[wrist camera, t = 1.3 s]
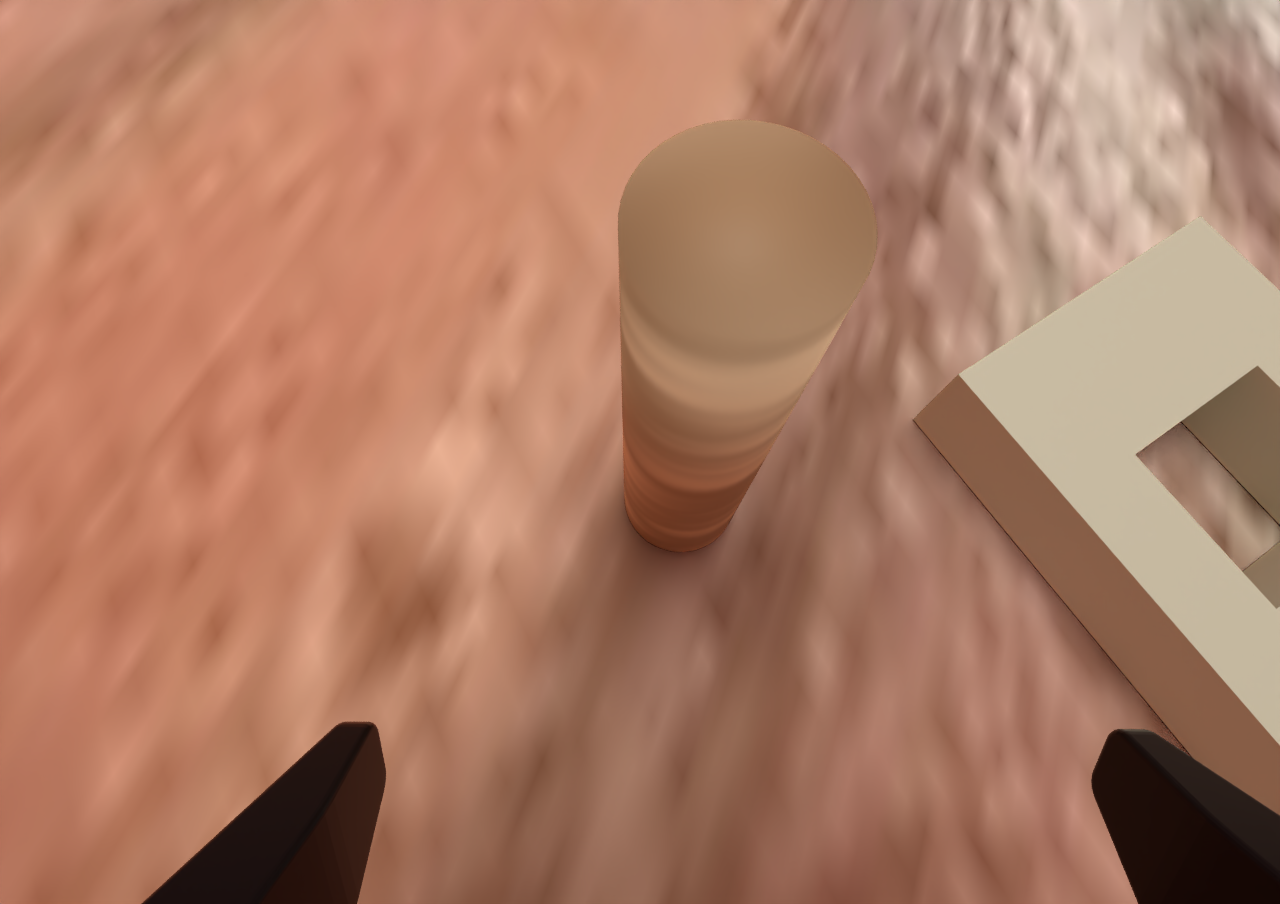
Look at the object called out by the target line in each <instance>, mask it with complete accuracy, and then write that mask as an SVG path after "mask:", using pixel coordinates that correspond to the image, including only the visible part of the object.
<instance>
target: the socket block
mask: <svg viewBox="0 0 1280 904" xmlns="http://www.w3.org/2000/svg"><path fill="white" fill-rule="evenodd" d="M913 420H914V421H915V422H916V424H917V425H918V426H919V427H920V428H921V430H922V431H923V432H924V433H925V434H926V436H927V437H928V438H929V439H930V441H931V442H932V443H933V444H934V445H935V447H936V448H937V449H938V450H939V451H940V453H941V454H942V455H943V456H944V457H945V459H946V460H947V461H948V462H949V464H950V465H951V466H952V467H953V468H954V470H955V471H956V472H957V473H958V474H959V476H960V477H961V478H962V479H963V480H964V482H965V483H966V484H967V485H968V487H969V488H970V489H971V490H972V491H973V493H974V494H975V495H976V496H977V497H978V499H979V500H980V501H981V502H982V503H983V505H984V506H985V507H986V508H987V509H988V511H989V512H990V513H991V514H992V516H993V517H994V518H995V519H996V520H997V522H998V523H999V524H1000V525H1001V526H1002V528H1003V529H1004V530H1005V531H1006V532H1007V534H1008V535H1009V536H1010V537H1011V539H1012V540H1013V541H1014V542H1015V543H1016V545H1017V546H1018V547H1019V548H1020V549H1021V551H1022V552H1023V553H1024V554H1025V555H1026V557H1027V558H1028V559H1029V560H1030V561H1031V563H1032V564H1033V565H1034V566H1035V568H1036V569H1037V570H1038V571H1039V572H1040V574H1041V575H1042V576H1043V577H1044V578H1045V580H1046V581H1047V582H1048V583H1049V584H1050V586H1051V587H1052V588H1053V589H1054V591H1055V592H1056V593H1057V594H1058V595H1059V597H1060V598H1061V599H1062V600H1063V601H1064V603H1065V604H1066V605H1067V606H1068V607H1069V609H1070V610H1071V611H1072V612H1073V614H1074V615H1075V616H1076V617H1077V618H1078V620H1079V621H1080V622H1081V623H1082V624H1083V626H1084V627H1085V628H1086V629H1087V630H1088V632H1089V633H1090V634H1091V635H1092V636H1093V638H1094V639H1095V640H1096V641H1097V643H1098V644H1099V645H1100V646H1101V647H1102V649H1103V650H1104V651H1105V652H1106V653H1107V655H1108V656H1109V657H1110V658H1111V659H1112V661H1113V662H1114V663H1115V664H1116V666H1117V667H1118V668H1119V669H1120V670H1121V672H1122V673H1123V674H1124V675H1125V676H1126V678H1127V679H1128V680H1129V681H1130V682H1131V684H1132V685H1133V686H1134V687H1135V688H1136V690H1137V691H1138V692H1139V693H1140V695H1141V696H1142V697H1143V698H1144V699H1145V701H1146V702H1147V703H1148V704H1149V705H1150V707H1151V708H1152V709H1153V710H1154V711H1155V713H1156V714H1157V715H1158V716H1159V718H1160V719H1161V720H1162V721H1163V722H1164V724H1165V725H1166V726H1167V727H1168V728H1169V730H1170V731H1171V732H1172V733H1173V734H1174V736H1175V737H1176V738H1177V739H1178V740H1179V742H1180V743H1181V744H1182V745H1183V747H1184V748H1185V749H1186V750H1187V751H1188V753H1189V754H1190V755H1191V756H1192V757H1193V758H1194V759H1195V760H1197V761H1198V762H1200V763H1201V764H1203V765H1204V766H1206V767H1207V768H1209V769H1210V770H1212V771H1213V772H1215V773H1216V774H1218V775H1219V776H1221V777H1222V778H1224V779H1226V780H1227V781H1229V782H1230V783H1232V784H1233V785H1235V786H1236V787H1238V788H1239V789H1241V790H1242V791H1244V792H1245V793H1247V794H1248V795H1250V796H1251V797H1253V798H1254V799H1256V800H1257V801H1259V802H1260V803H1262V804H1263V805H1265V806H1266V807H1268V808H1269V809H1271V810H1273V811H1274V812H1276V813H1277V814H1279V815H1280V542H1279V543H1278V544H1276V545H1275V546H1274V547H1273V548H1271V549H1270V550H1269V551H1268V552H1266V553H1265V554H1264V555H1263V556H1261V557H1260V558H1259V559H1258V560H1256V561H1255V562H1254V563H1253V564H1251V565H1250V566H1249V567H1248V568H1246V569H1245V570H1244V571H1243V572H1242V571H1241V570H1240V569H1239V568H1238V567H1237V565H1236V564H1235V563H1234V562H1233V561H1232V560H1231V559H1230V558H1229V557H1228V556H1227V555H1226V553H1225V552H1224V551H1223V550H1222V549H1221V548H1220V547H1219V546H1218V545H1217V544H1216V543H1215V541H1214V540H1213V539H1212V538H1211V537H1210V536H1209V535H1208V534H1207V533H1206V532H1205V530H1204V529H1203V528H1202V527H1201V526H1200V525H1199V524H1198V523H1197V522H1196V521H1195V520H1194V518H1193V517H1192V516H1191V515H1190V514H1189V513H1188V512H1187V511H1186V510H1185V509H1184V508H1183V506H1182V505H1181V504H1180V503H1179V502H1178V501H1177V500H1176V499H1175V498H1174V497H1173V496H1172V494H1171V493H1170V492H1169V491H1168V490H1167V489H1166V488H1165V487H1164V486H1163V485H1162V484H1161V482H1160V481H1159V480H1158V479H1157V478H1156V477H1155V476H1154V475H1153V474H1152V473H1151V471H1150V470H1149V469H1148V468H1147V467H1146V466H1145V465H1144V464H1143V463H1142V462H1141V461H1140V459H1139V458H1138V457H1137V456H1136V455H1135V454H1137V453H1138V452H1139V451H1141V450H1142V449H1144V448H1145V447H1146V446H1148V445H1149V444H1150V443H1152V442H1153V441H1155V440H1156V439H1157V438H1159V437H1160V436H1161V435H1163V434H1164V433H1166V432H1167V431H1168V430H1170V429H1171V428H1172V427H1174V426H1175V425H1177V424H1178V423H1179V422H1182V423H1183V424H1184V425H1185V426H1186V427H1187V428H1188V429H1189V430H1190V431H1191V432H1192V433H1193V434H1194V435H1195V436H1196V437H1197V438H1198V439H1199V440H1200V441H1201V443H1202V444H1203V445H1204V446H1205V447H1206V448H1207V449H1208V450H1209V451H1210V452H1211V453H1212V454H1213V455H1214V456H1215V457H1216V458H1217V459H1218V460H1219V461H1220V463H1221V464H1222V465H1223V466H1224V467H1225V468H1226V469H1227V470H1228V471H1229V472H1230V473H1231V474H1232V475H1233V476H1234V477H1235V478H1236V479H1237V480H1238V481H1239V482H1240V484H1241V485H1242V486H1243V487H1244V488H1245V489H1246V490H1247V491H1248V492H1249V493H1250V494H1251V495H1252V496H1253V497H1254V498H1255V499H1256V500H1257V501H1258V502H1259V504H1260V505H1261V506H1262V507H1263V508H1264V509H1265V510H1266V511H1267V512H1268V513H1269V514H1270V515H1271V516H1272V517H1273V518H1274V519H1275V520H1276V521H1277V522H1278V524H1279V525H1280V290H1279V289H1277V288H1276V287H1275V286H1274V285H1273V284H1272V283H1271V282H1270V281H1269V280H1268V279H1267V278H1266V277H1265V276H1264V275H1263V274H1262V273H1260V272H1259V271H1258V270H1257V269H1256V268H1255V267H1254V266H1253V265H1252V264H1251V263H1250V262H1249V261H1248V260H1247V259H1246V258H1245V257H1243V256H1242V255H1241V254H1240V253H1239V252H1238V251H1237V250H1236V249H1235V248H1234V247H1233V246H1232V245H1231V244H1230V243H1229V242H1228V241H1227V240H1225V239H1224V238H1223V237H1222V236H1221V235H1220V234H1219V233H1218V232H1217V231H1216V230H1215V229H1214V228H1213V227H1212V226H1211V225H1210V224H1208V223H1207V222H1206V221H1205V220H1204V219H1203V218H1202V217H1201V216H1199V217H1198V218H1196V219H1195V220H1193V221H1192V222H1190V223H1189V224H1187V225H1186V226H1184V227H1183V228H1181V229H1180V230H1178V231H1177V232H1175V233H1173V234H1172V235H1170V236H1169V237H1167V238H1166V239H1164V240H1163V241H1161V242H1160V243H1158V244H1157V245H1155V246H1154V247H1152V248H1151V249H1149V250H1148V251H1146V252H1144V253H1143V254H1141V255H1140V256H1138V257H1137V258H1135V259H1134V260H1132V261H1131V262H1129V263H1128V264H1126V265H1125V266H1123V267H1122V268H1120V269H1119V270H1117V271H1115V272H1114V273H1112V274H1111V275H1109V276H1108V277H1106V278H1105V279H1103V280H1102V281H1100V282H1099V283H1097V284H1096V285H1094V286H1093V287H1091V288H1090V289H1088V290H1086V291H1085V292H1083V293H1082V294H1080V295H1079V296H1077V297H1076V298H1074V299H1073V300H1071V301H1070V302H1068V303H1067V304H1065V305H1064V306H1062V307H1061V308H1059V309H1057V310H1056V311H1054V312H1053V313H1051V314H1050V315H1048V316H1047V317H1045V318H1044V319H1042V320H1041V321H1039V322H1038V323H1036V324H1035V325H1033V326H1032V327H1030V328H1028V329H1027V330H1025V331H1024V332H1022V333H1021V334H1019V335H1018V336H1016V337H1015V338H1013V339H1012V340H1010V341H1009V342H1007V343H1006V344H1004V345H1003V346H1001V347H999V348H998V349H996V350H995V351H993V352H992V353H990V354H989V355H987V356H986V357H984V358H983V359H981V360H980V361H978V362H977V363H975V364H974V365H972V366H970V367H969V368H967V369H966V370H964V371H963V372H961V373H960V374H958V375H957V376H956V377H955V378H954V379H953V380H952V381H951V382H950V383H949V384H948V385H947V386H946V387H945V388H944V389H943V390H942V391H941V392H940V393H939V394H938V395H937V396H936V397H935V398H934V399H933V400H932V401H931V402H930V403H929V404H928V405H927V406H926V407H925V408H924V409H923V410H922V411H921V412H920V413H919V414H918V415H917V416H916V417H915V418H914V419H913Z"/></svg>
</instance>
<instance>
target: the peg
mask: <svg viewBox="0 0 1280 904" xmlns="http://www.w3.org/2000/svg"><path fill="white" fill-rule="evenodd" d="M618 247H619V289H620V332H621V374H622V417H623V459H624V501H625V508H626V512H627V515H628V518H629V520H630V522H631V524H632V525H633V527H634V528H635V530H636V531H637V532H638V533H639V534H640V535H641V536H642V537H643V538H644V539H645V540H646V541H648V542H649V543H651V544H652V545H654V546H656V547H659V548H661V549H664V550H668V551H674V552H687V551H693V550H697V549H700V548H702V547H705V546H707V545H708V544H710V543H712V542H713V541H714V540H716V539H717V538H718V537H719V536H720V535H721V534H722V533H723V531H724V530H725V529H726V527H727V525H728V524H729V522H730V520H731V518H732V517H733V515H734V513H735V511H736V509H737V508H738V506H739V504H740V502H741V501H742V499H743V497H744V495H745V494H746V492H747V490H748V488H749V486H750V485H751V483H752V481H753V479H754V478H755V476H756V474H757V472H758V470H759V469H760V467H761V465H762V463H763V462H764V460H765V458H766V456H767V455H768V453H769V451H770V449H771V447H772V446H773V444H774V442H775V440H776V439H777V437H778V435H779V433H780V432H781V430H782V428H783V426H784V424H785V423H786V421H787V419H788V417H789V416H790V414H791V412H792V410H793V408H794V407H795V405H796V403H797V401H798V400H799V398H800V396H801V394H802V393H803V391H804V389H805V387H806V385H807V384H808V382H809V380H810V378H811V377H812V375H813V373H814V371H815V369H816V368H817V366H818V364H819V362H820V361H821V359H822V357H823V355H824V354H825V352H826V350H827V348H828V346H829V345H830V343H831V341H832V339H833V338H834V336H835V334H836V332H837V331H838V329H839V327H840V325H841V323H842V322H843V320H844V318H845V316H846V315H847V313H848V311H849V309H850V307H851V306H852V304H853V302H854V300H855V299H856V297H857V295H858V293H859V292H860V290H861V288H862V286H863V284H864V283H865V281H866V279H867V277H868V276H869V273H870V271H871V268H872V265H873V263H874V259H875V254H876V249H877V224H876V217H875V213H874V209H873V206H872V203H871V200H870V198H869V196H868V194H867V191H866V189H865V188H864V186H863V184H862V183H861V181H860V179H859V178H858V177H857V175H856V174H855V173H854V172H853V170H852V169H851V168H850V167H849V165H848V164H847V163H845V162H844V161H843V160H842V159H841V158H840V157H839V156H838V155H837V154H836V153H835V152H833V151H832V150H831V149H829V148H828V147H827V146H825V145H824V144H822V143H820V142H819V141H817V140H815V139H814V138H812V137H810V136H808V135H806V134H804V133H801V132H799V131H797V130H794V129H791V128H788V127H785V126H782V125H778V124H773V123H769V122H763V121H755V120H727V121H717V122H712V123H707V124H703V125H700V126H696V127H693V128H690V129H687V130H685V131H683V132H681V133H679V134H676V135H674V136H673V137H671V138H669V139H668V140H666V141H664V142H663V143H661V144H660V145H659V146H658V147H656V148H655V149H654V150H652V151H651V152H650V153H649V154H648V155H647V156H646V157H645V158H644V159H643V160H642V161H641V162H640V164H639V165H638V167H637V168H636V169H635V171H634V172H633V173H632V175H631V177H630V179H629V181H628V183H627V185H626V187H625V189H624V192H623V195H622V198H621V202H620V208H619V213H618Z"/></svg>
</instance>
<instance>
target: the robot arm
mask: <svg viewBox="0 0 1280 904" xmlns="http://www.w3.org/2000/svg"><path fill="white" fill-rule="evenodd" d="M385 781H386V768H385V763H384V758H383V753H382V748H381V742H380V737H379V732H378V729H377V727H376V725H375V724H374V723H371V722H342V723H340V724H338V725H336V726H335V727H334V728H333V729H332V730H331V731H330V732H329V733H327V734H326V735H325V736H324V737H323V738H322V739H321V740H320V741H319V742H318V743H317V744H315V745H314V746H313V747H312V748H311V749H310V750H309V751H308V752H307V753H306V754H304V755H303V756H302V757H301V758H300V759H299V760H298V761H297V762H296V763H295V764H294V765H292V766H291V767H290V768H289V769H288V770H287V771H286V772H285V773H284V774H283V775H282V776H280V777H279V778H278V779H277V780H276V781H275V782H274V783H273V784H272V785H271V786H270V787H268V788H267V789H266V790H265V791H264V792H263V793H262V794H261V795H260V796H259V797H258V798H256V799H255V800H254V801H253V802H252V803H251V804H250V805H249V806H248V807H247V808H246V809H244V810H243V811H242V812H241V813H240V814H239V815H238V816H237V817H236V818H235V819H234V820H232V821H231V822H230V823H229V824H228V825H227V826H226V827H225V828H224V829H223V830H222V831H220V832H219V833H218V834H217V835H216V836H215V837H214V838H213V839H212V840H211V841H210V842H208V843H207V844H206V845H205V846H204V847H203V848H202V849H201V850H200V851H199V852H198V853H196V854H195V855H194V856H193V857H192V858H191V859H190V860H189V861H188V862H187V863H186V864H184V865H183V866H182V867H181V868H180V869H179V870H178V871H177V872H176V873H175V874H174V875H172V876H171V877H170V878H169V879H168V880H167V881H166V882H165V883H164V884H163V885H162V886H160V887H159V888H158V889H157V890H156V891H155V892H154V893H153V894H152V895H151V896H150V897H148V898H147V899H146V900H145V901H144V902H143V903H142V904H357V902H358V898H359V894H360V889H361V885H362V881H363V877H364V873H365V868H366V864H367V860H368V856H369V852H370V847H371V843H372V839H373V835H374V831H375V826H376V822H377V818H378V814H379V810H380V805H381V801H382V797H383V793H384V788H385ZM1091 782H1092V790H1093V794H1094V797H1095V800H1096V802H1097V805H1098V807H1099V809H1100V812H1101V814H1102V817H1103V819H1104V822H1105V824H1106V826H1107V829H1108V831H1109V834H1110V836H1111V839H1112V841H1113V843H1114V846H1115V848H1116V851H1117V853H1118V856H1119V858H1120V860H1121V863H1122V865H1123V868H1124V870H1125V873H1126V875H1127V877H1128V880H1129V882H1130V885H1131V887H1132V890H1133V892H1134V894H1135V897H1136V899H1137V902H1138V904H1280V815H1279V814H1277V813H1276V812H1274V811H1273V810H1271V809H1269V808H1268V807H1266V806H1265V805H1263V804H1262V803H1260V802H1259V801H1257V800H1256V799H1254V798H1253V797H1251V796H1250V795H1248V794H1247V793H1245V792H1244V791H1242V790H1241V789H1239V788H1238V787H1236V786H1235V785H1233V784H1232V783H1230V782H1229V781H1227V780H1226V779H1224V778H1222V777H1221V776H1219V775H1218V774H1216V773H1215V772H1213V771H1212V770H1210V769H1209V768H1207V767H1206V766H1204V765H1203V764H1201V763H1200V762H1198V761H1197V760H1195V759H1194V758H1192V757H1191V756H1189V755H1188V754H1186V753H1185V752H1183V751H1182V750H1180V749H1179V748H1177V747H1176V746H1174V745H1172V744H1171V743H1169V742H1168V741H1166V740H1165V739H1163V738H1162V737H1160V736H1159V735H1157V734H1155V733H1154V732H1151V731H1149V730H1144V729H1117V730H1114V731H1112V732H1111V733H1110V734H1109V735H1108V737H1107V739H1106V742H1105V744H1104V746H1103V749H1102V751H1101V754H1100V756H1099V758H1098V761H1097V763H1096V766H1095V768H1094V770H1093V773H1092V780H1091Z"/></svg>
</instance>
